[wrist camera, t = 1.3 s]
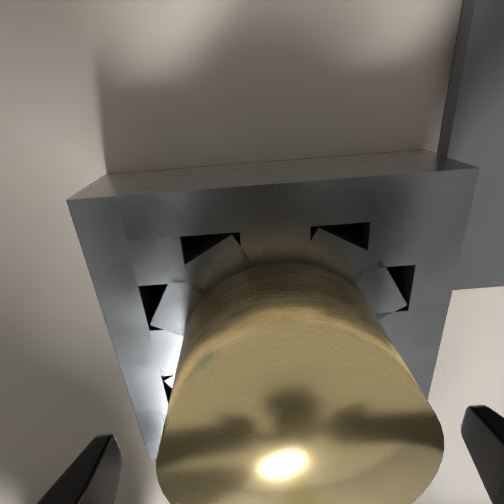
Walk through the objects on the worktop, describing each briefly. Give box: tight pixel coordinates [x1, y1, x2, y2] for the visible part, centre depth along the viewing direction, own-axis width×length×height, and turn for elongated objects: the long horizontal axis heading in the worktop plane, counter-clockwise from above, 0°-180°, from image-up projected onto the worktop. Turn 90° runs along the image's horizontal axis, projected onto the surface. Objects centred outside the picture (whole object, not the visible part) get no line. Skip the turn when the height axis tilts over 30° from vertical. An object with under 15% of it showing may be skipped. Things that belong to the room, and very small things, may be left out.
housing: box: [66, 150, 480, 460], centre depth 13 cm, size 11×11×3 cm
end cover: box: [156, 263, 444, 504], centre depth 11 cm, size 6×6×7 cm
